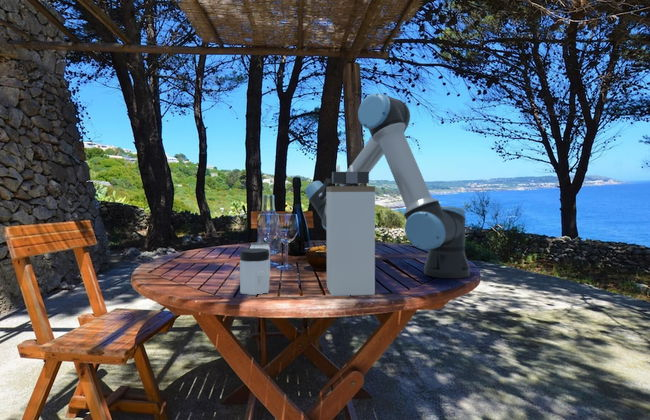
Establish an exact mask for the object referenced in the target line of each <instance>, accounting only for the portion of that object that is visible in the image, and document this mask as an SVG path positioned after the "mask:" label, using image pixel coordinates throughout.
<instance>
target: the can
mask: <svg viewBox="0 0 650 420" xmlns="http://www.w3.org/2000/svg"><path fill="white" fill-rule="evenodd" d="M252 248H262V249H268V250H269V280H271V250H270V249H271V248H270V245H269V242H266V241H256V242H250V247H249V249H252Z"/></svg>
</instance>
